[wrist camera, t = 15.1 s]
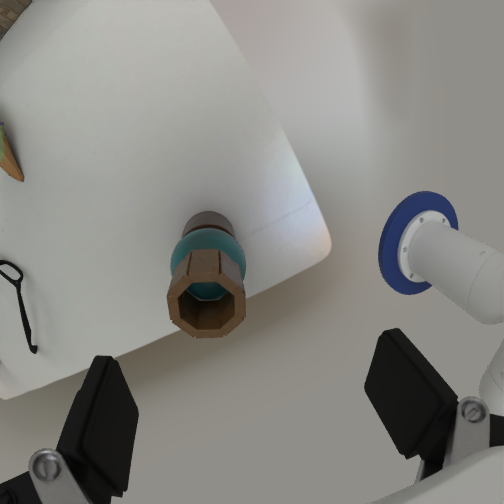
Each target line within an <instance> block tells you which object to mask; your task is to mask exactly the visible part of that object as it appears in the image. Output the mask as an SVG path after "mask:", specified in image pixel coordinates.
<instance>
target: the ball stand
mask: <svg viewBox="0 0 504 504" xmlns="http://www.w3.org/2000/svg"><path fill="white" fill-rule="evenodd" d="M201 249H218V251H220V250H222V251H223V252H224V253H225V254H226V255H228V256H229V257H230V258H231V259H232V260H233V261H234V262H236V263H237V264H238V265H239V268H240V270H241V275H242V280H244V277H245V273H246V259H245V255H244V252H243V250H242V248H241V246H240V245H239V243H238V242H237V241H236V238H235V235H234V231H233V228H232V225H231V224H230V222H229V221H228V220H227V218H225V217H224V216H223V215H221V214H219V213H216V212H211V211H206V212H201V213H198V214H196V215H194V216H193V217H192V218H191V219H190V220H189V221H188V222H187V224H186V226H185V228H184V232H183V235H182V238H181V240H180V241H179V243H178V244H177V245H176V247H175V249H174V251H173V254H172V257H171V265H170V266H171V274H172V276H173V273H174V270H175V267H176V266H177V265H178V264H179V263H180V262H181V261H182V260H183V259H184V258H185V256H186V255H187V254H188V253H189V252H190V251H191V252H193V250H201ZM186 291H188V292H189V293H190V294H191V295H193V296H194V297H195V298H197V299H198V300H199V301H209V300H219V299H220V298H221V297H222V296H223V295H224V294H225V293H226V292H228V290H226V289H225V288H224V287H223V286H221V285H220V284H219V283H218V282H198V283H192V284H191V285H190V286H189V287H188V288H187V289H186Z"/></svg>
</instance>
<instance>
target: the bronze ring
mask: <svg viewBox="0 0 504 504" xmlns="http://www.w3.org/2000/svg"><path fill="white" fill-rule="evenodd" d="M198 282H218V283H219V284H220V285H221V286H223V287H224V288H225V289H226V290H228V292H226V293H225V294H224V295H223V296H222V297H221V298H220V299H219V300H209V301H199V300H198V299H197V298H195V297H194V296H193V295H191V294H190V293H189V292H188V291H186V289H187V288H188V287H189V286H190V285H191V284H192V283H198ZM167 302H168V308H169V315H170V320H173V321H172V323H174V324H175V325H176V326H178V327H179V328H181V329H182V330H184V331H185V332H186V333H188V334H189V335H191V336H192V337H194V336H195V335H196V338H217V337H223V335H225V336H226V335H227V334H228V333H230V332H231V331H232V330H233V329H234V328H235V327H236V326H238V325H239V324H240V323H241V322H242V321H243V320H244V317H246V310H245V289H244V284H243V280H242V275H241V270H240V268H239V265H238V264H237V263H236V262H234V261H233V260H232V259H231V258H230V257H229V256H228V255H226V254H225V253H224V252H223V251H222V250H220V251H218V249H201V250H193V252H191V251H190V252H189V253H188V254H187V255H186V256H185V258H184V259H183V260H182V261H181V262H180V263H179V264H178V265H177V266H176V267H175V270H174V273H173V276H172V280H171V283H170V287H169V290H168V293H167Z"/></svg>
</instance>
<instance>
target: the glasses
mask: <svg viewBox="0 0 504 504" xmlns="http://www.w3.org/2000/svg"><path fill="white" fill-rule="evenodd" d="M4 264H7V265H9V266H11V267H13V268H14V269H15V270H16V271H18V273H19V274H20V275H21V277H20V278H19V279H18V280H13V279H11V278H10V277H9V276H7V275H6V274H5V273H4V272H2V271H1V270H0V274H1V275H2V276H3V277H4V278H6V279H7V280H8V281H9V282H10V283H12V284H13V285H14V286H15V287H16V290H17V295H18V301H19V306H20V312H21V318H22V322H23V327H24V331H25V335H26V338H27V342H28V345H29V348H30V351H31V352H32V353H34V354H36V353H37V346H36V345H34V346H33V345H32V344H31V329H30V326H29V322H28V319H27V315H26V311H25V308H24V304H23V300H22V296H21V293H20V291H21V284H20V283H21V282H22V280H23V273H22V271H21V270H20V269H19V268H18V267H17V266H15V265H14V264H12V263H10V262H8V261H5V260H0V265H4Z"/></svg>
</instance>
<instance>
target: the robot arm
mask: <svg viewBox="0 0 504 504" xmlns="http://www.w3.org/2000/svg"><path fill="white" fill-rule="evenodd" d="M397 259H398V265H399V269H400V271H401V272H402V274H403V275H404V276H405V277H406V278H407V279H409V280H410V281H413V282H424V281H427V282H428V283H430V284H431V285H432V286H434V287H435V288H436V289H438V290H439V291H440V292H442V293H443V294H444V295H446V296H447V297H448V298H449V299H451V300H452V301H454V302H455V303H456V304H457V305H459V306H460V307H461V308H462V309H463V310H465V311H466V312H467V313H468V314H470V315H471V316H472V317H474V318H475V319H476V320H477V321H479V322H481V323H484V324H497V323H501V322H504V254H503V253H502V252H500V251H498V250H496V249H494V248H492V247H490V246H488V245H486V244H485V243H482V242H480V241H478V240H476V239H474V238H472V237H470V236H468V235H466V234H464V233H462V232H460V231H458V230H455V229H453V228H451V226H450V223H449V221H448V220H447V218H446V217H445V216H444V215H443V214H441V213H439V212H437V211H434V210H427V211H423V212H421V213H419V214H418V215H416V216H415V217H414V218H413V219H412V220H411V221H410V222H409V223H408V225H407V226H406V228H405V230H404V232H403V234H402V236H401V239H400V241H399V246H398V252H397ZM364 389H365V392H366V394H367V396H368V398H369V400H370V401H371V403H372V405H373V406H374V408H375V410H376V412H377V413H378V415H379V417H380V419H381V421H382V422H383V424H384V426H385V428H386V430H387V431H388V433H389V435H390V437H391V438H392V440H393V442H394V444H395V446H396V448H397V449H398V451H399V453H400V454H402V455H404V456H405V458H406V459H409V458H412V457H414V456H416V455H418V454H419V455H420V457H421V461H420V466H419V469H418V473H417V476H416V480H415V483H414V484H413V485H411V486H409V487H407V488H405V489H402V490H400V491H398V492H396V493H393V494H391V495H389V496H386V497H384V498H381V499H379V500H376V501H374V502H371V503H368V504H504V340H503V342H502V343H501V345H500V347H499V349H498V350H497V352H496V354H495V356H494V357H493V359H492V361H491V362H490V364H489V366H488V367H487V369H486V371H485V373H484V374H483V376H482V379H481V381H480V385H479V394H480V397H481V399H479V398H477V397H466V398H463V399H462V400H461V401H460V402H458V401H457V398H458V396H457V395H456V394H455V393H454V391H453V390H452V389H451V388H450V386H449V385H448V384H447V383H446V382H445V381H444V379H443V378H442V377H441V376H440V375H439V373H438V372H437V371H436V370H435V369H434V367H433V366H432V365H431V364H430V363H429V362H428V361H427V359H426V358H425V357H424V356H423V355H422V354H421V352H420V351H419V350H418V349H417V348H416V347H415V346H414V345H413V343H412V342H411V341H410V340H409V339H408V338H407V337H406V336H405V334H404V333H403V332H402V331H401V330H400V329H399V328H394V329H390V330H385V331H384V332H383V333H382V335H381V336H379V338H378V341H377V345H376V349H375V352H374V356H373V359H372V362H371V366H370V369H369V372H368V375H367V378H366V382H365V385H364ZM489 410H490V411H491V412H492V413H493V414H490V413H489ZM138 417H139V413H138V408H137V406H136V403H135V401H134V399H133V397H132V394H131V392H130V390H129V388H128V385H127V383H126V381H125V378H124V376H123V374H122V371H121V368H120V366H119V363H118V361H116V360H114V359H113V357H112V356H99V355H97V356H95V358H94V359H93V362H92V364H91V366H90V368H89V371H88V373H87V375H86V378H85V380H84V383H83V385H82V387H81V389H80V390H79V391H78V392H77V394H76V396H75V399H74V401H73V404H72V406H71V409H70V411H69V414H68V417H67V419H66V422H65V425H64V427H63V430H62V433H61V436H60V439H59V442H58V444H57V447H56V450H53V449H41V450H38V451H37V452H35V453H34V454H33V455H32V456H31V458H30V461H29V466H28V468H29V471H27V472H25V473H23V474H21V475H19V476H17V477H15V478H13V479H10V480H8V481H6V482H3V483H1V484H0V504H110V503H111V496H116V497H122V495H123V491H124V492H126V491H127V488H128V480H129V474H130V466H131V459H132V452H133V445H134V440H135V434H136V428H137V423H138Z"/></svg>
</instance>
